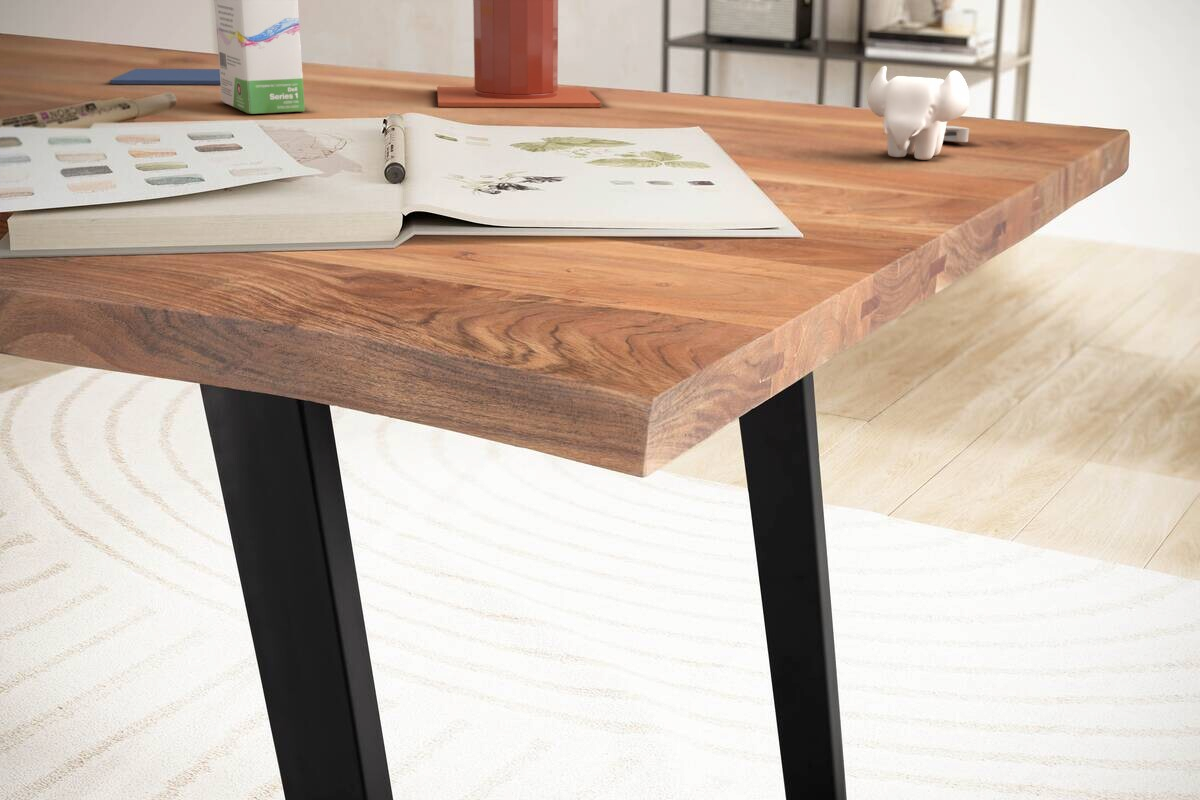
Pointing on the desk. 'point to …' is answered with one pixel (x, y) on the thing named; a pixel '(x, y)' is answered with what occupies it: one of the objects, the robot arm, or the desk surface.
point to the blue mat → (170, 77)
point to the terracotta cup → (515, 48)
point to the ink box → (260, 55)
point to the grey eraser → (956, 134)
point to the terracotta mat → (469, 99)
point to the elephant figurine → (917, 110)
